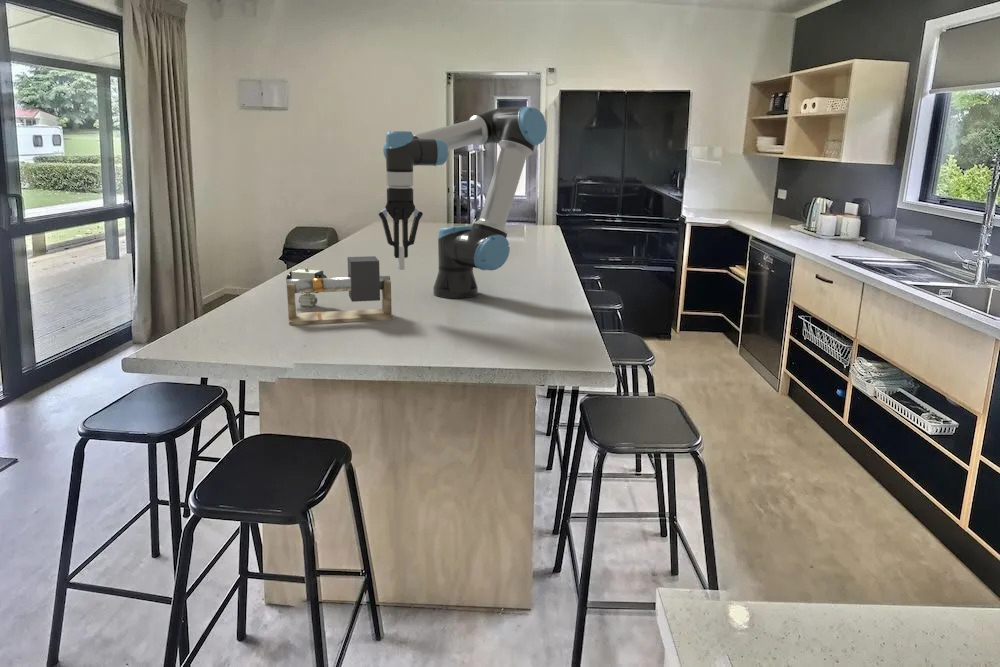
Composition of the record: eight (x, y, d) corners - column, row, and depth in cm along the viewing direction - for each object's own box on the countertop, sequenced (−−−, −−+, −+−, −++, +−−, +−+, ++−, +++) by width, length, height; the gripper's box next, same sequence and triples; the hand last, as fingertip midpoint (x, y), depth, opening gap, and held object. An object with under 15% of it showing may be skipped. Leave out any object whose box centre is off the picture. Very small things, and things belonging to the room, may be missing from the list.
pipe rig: (387, 311, 217) (386, 276, 214) (393, 319, 208) (392, 282, 205) (288, 316, 208) (286, 279, 206) (289, 325, 199) (287, 286, 196)
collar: (376, 294, 214) (375, 256, 211) (380, 300, 206) (379, 260, 203) (348, 295, 211) (347, 256, 208) (352, 301, 204) (350, 261, 200)
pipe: (388, 287, 212) (388, 274, 211) (390, 290, 208) (390, 277, 207) (287, 291, 204) (286, 278, 202) (287, 294, 200) (286, 280, 199)
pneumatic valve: (322, 308, 219) (320, 269, 216) (287, 306, 222) (285, 267, 219) (330, 304, 225) (328, 266, 222) (295, 302, 227) (293, 264, 224)
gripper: (419, 186, 209) (420, 266, 215) (375, 186, 205) (377, 267, 211) (425, 188, 202) (425, 270, 208) (378, 187, 198) (380, 271, 204)
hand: (401, 268), depth 210 cm, fingers closed
